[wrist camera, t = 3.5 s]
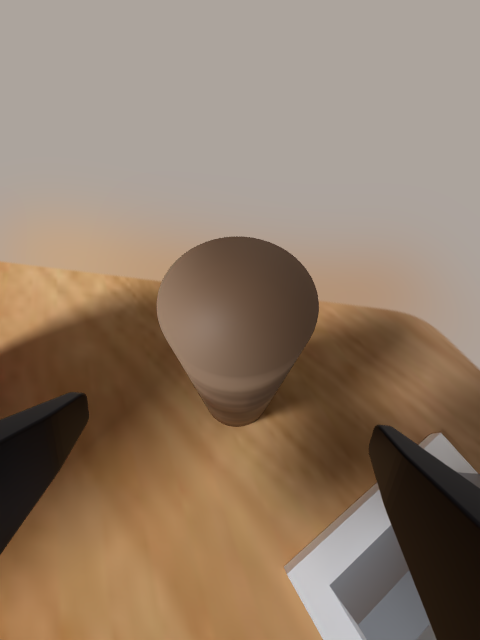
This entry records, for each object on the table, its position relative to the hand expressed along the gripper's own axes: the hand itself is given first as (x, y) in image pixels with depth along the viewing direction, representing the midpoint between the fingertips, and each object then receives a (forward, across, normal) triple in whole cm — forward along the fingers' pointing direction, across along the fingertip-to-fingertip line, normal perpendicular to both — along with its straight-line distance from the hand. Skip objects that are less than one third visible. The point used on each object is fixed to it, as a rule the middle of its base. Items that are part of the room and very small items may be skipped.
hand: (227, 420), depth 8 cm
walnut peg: (+9, 0, +5) cm, 10 cm away
